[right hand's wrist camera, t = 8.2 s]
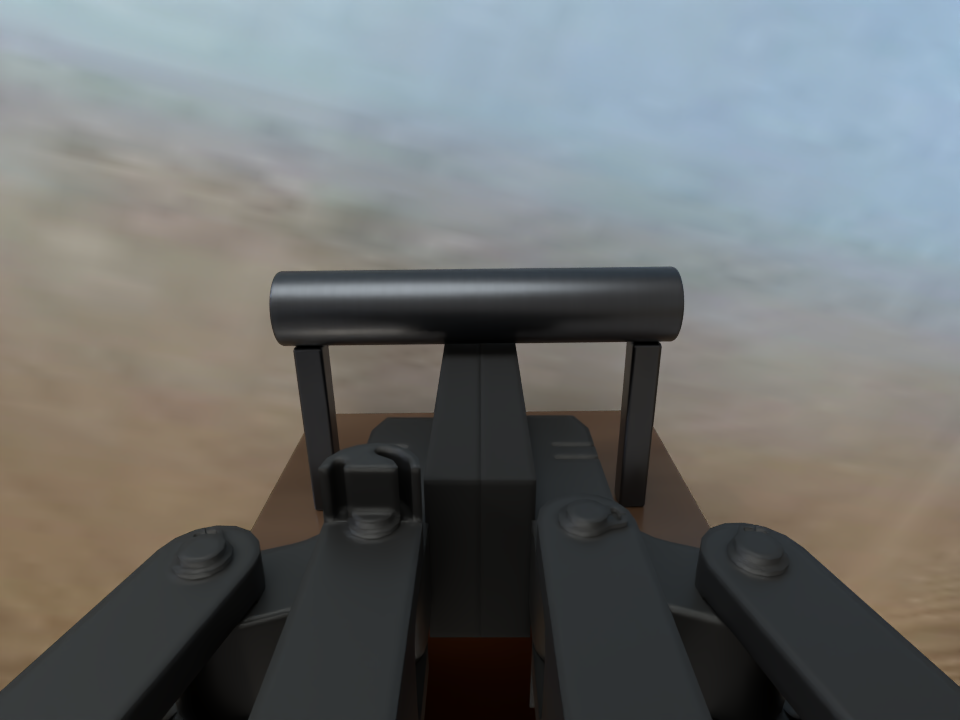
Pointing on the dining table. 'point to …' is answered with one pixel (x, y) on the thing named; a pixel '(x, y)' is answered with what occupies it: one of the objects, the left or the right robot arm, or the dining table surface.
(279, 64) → the dining table surface
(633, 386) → the drawer
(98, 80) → the dining table surface
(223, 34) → the dining table surface
